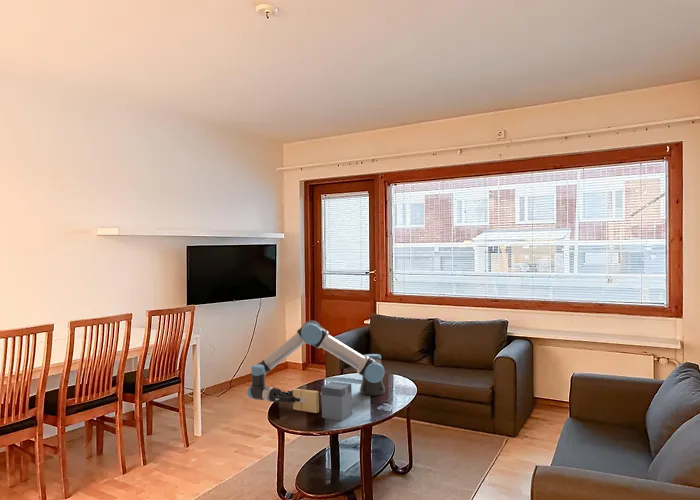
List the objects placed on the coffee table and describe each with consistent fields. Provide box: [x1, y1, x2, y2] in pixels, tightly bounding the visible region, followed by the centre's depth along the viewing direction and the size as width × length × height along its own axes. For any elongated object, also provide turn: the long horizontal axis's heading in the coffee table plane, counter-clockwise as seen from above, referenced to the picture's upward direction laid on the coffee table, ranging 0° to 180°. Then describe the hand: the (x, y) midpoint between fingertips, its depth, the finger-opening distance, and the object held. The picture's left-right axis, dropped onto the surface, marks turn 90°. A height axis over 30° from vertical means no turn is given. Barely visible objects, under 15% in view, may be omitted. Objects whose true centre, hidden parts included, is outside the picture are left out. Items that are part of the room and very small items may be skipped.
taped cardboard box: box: [292, 387, 320, 414], centre depth 272 cm, size 15×3×11 cm, turn 62°
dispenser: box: [319, 381, 353, 421], centre depth 263 cm, size 13×11×16 cm
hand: (307, 399), depth 271 cm, fingers closed on taped cardboard box, 3 cm apart
